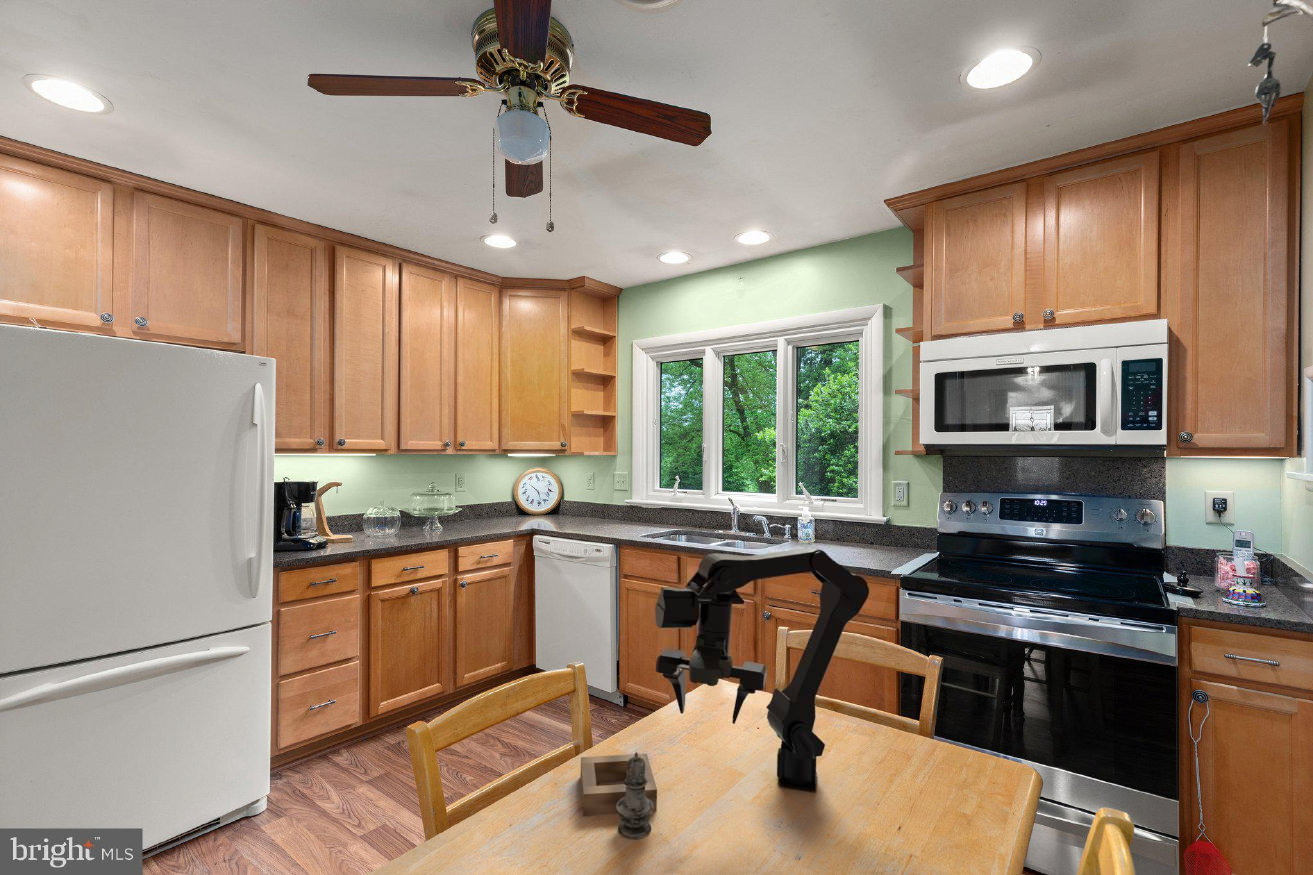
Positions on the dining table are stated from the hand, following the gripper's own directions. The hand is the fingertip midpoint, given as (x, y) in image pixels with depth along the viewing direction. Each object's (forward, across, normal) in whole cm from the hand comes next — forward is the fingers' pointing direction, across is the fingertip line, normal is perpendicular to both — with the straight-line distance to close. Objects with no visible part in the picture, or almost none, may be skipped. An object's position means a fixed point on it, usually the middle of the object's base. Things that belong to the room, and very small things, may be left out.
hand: (707, 717), depth 110 cm
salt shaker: (+14, -8, -14) cm, 21 cm away
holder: (+14, -14, -5) cm, 20 cm away
